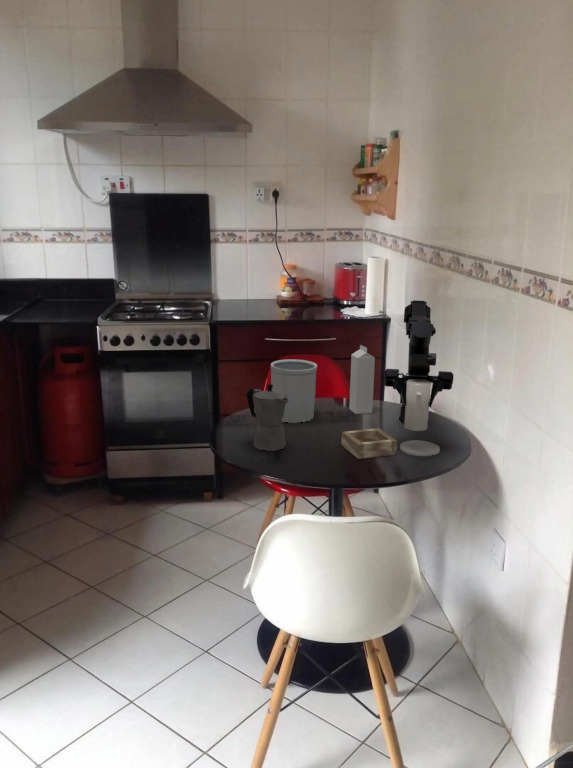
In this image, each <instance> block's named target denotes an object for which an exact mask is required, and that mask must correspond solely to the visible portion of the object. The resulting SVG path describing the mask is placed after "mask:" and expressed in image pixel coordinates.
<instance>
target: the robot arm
mask: <svg viewBox="0 0 573 768" xmlns="http://www.w3.org/2000/svg"><path fill="white" fill-rule="evenodd" d="M427 303H428V302H427V301H425V300H411V301H410V303H409V304H407V306H405V307H404V311H403V323H405V335H406V336H407V338H408V340H409V343H408V364H407V366H408V367H407V372H406V373H403V372H400V369H398V368H386V369H385V370H384V378H383V379H384V380H383V381H384V382H383V383H384V385H383V386H384V387H389V388H390V387H391V388H392V389H393V390H396V391H397V393H398V395H399V404H401V406H400V413H399V414H400V415H399V417H398V419H399V420H400V421H401V422H403V423H404V421H405V406H406V388H407V381H408V380H410V379H423V380H427V381H430V382H431V384H432V386H431V389H430V401H429V408H432V406H433V403H434V401H435V398H436V396H437V395H438V393H439V392H440V393H441V392H443V390H447V391H449V390H451V389H453V388H452V387H453V383H454V373H453V372H452V371H445V370H443V371H442V370H439V371H438V374H437V375H430V372H431V369H430V368H431V367H430V366H434V367H435V366H436V364H437V352H436V353H435V352H430V344H431V341H432V340H431V339H432V337H434V335H436V328H435V326H434V323H432V319H431V314H432V313H431V311H432V309H431V307H430V306H429V305H428V304H427Z"/></svg>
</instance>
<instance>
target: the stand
mask: <svg viewBox="0 0 573 768" xmlns="http://www.w3.org/2000/svg"><path fill="white" fill-rule="evenodd" d="M340 446H341V447H343V448H344V449H346V450H347V451H348V452H349V453H350V454H352V455H353V456H354V457H355V458H356V459H357V460H360V459H368V458H370V459H371V458H378V457H385V456H386V457H387V456H395V455H397V448H398V447H397V446H398V440H396V439H395V438H393V437H392V436H390V435H389V434H388V433H386V432H385V431H383V430H381V429H380V428H379V427H378V428H367V429H358V430H357V429H356V430H346V431H341V445H340Z"/></svg>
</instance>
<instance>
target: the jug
mask: <svg viewBox="0 0 573 768" xmlns="http://www.w3.org/2000/svg"><path fill="white" fill-rule="evenodd" d="M431 384H432V383H431V382H430V381H427V380H423V379H410V380H408V381H407V388H406V406H405V421H404V422H403V423H404V424H403V427H404V429H406V430H409V431H414V432H422V431H426V430H428V428H429V427H428V425H429V413H430V412H429V411H430V407H429V402H430V396H431V387H432V386H431Z"/></svg>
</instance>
